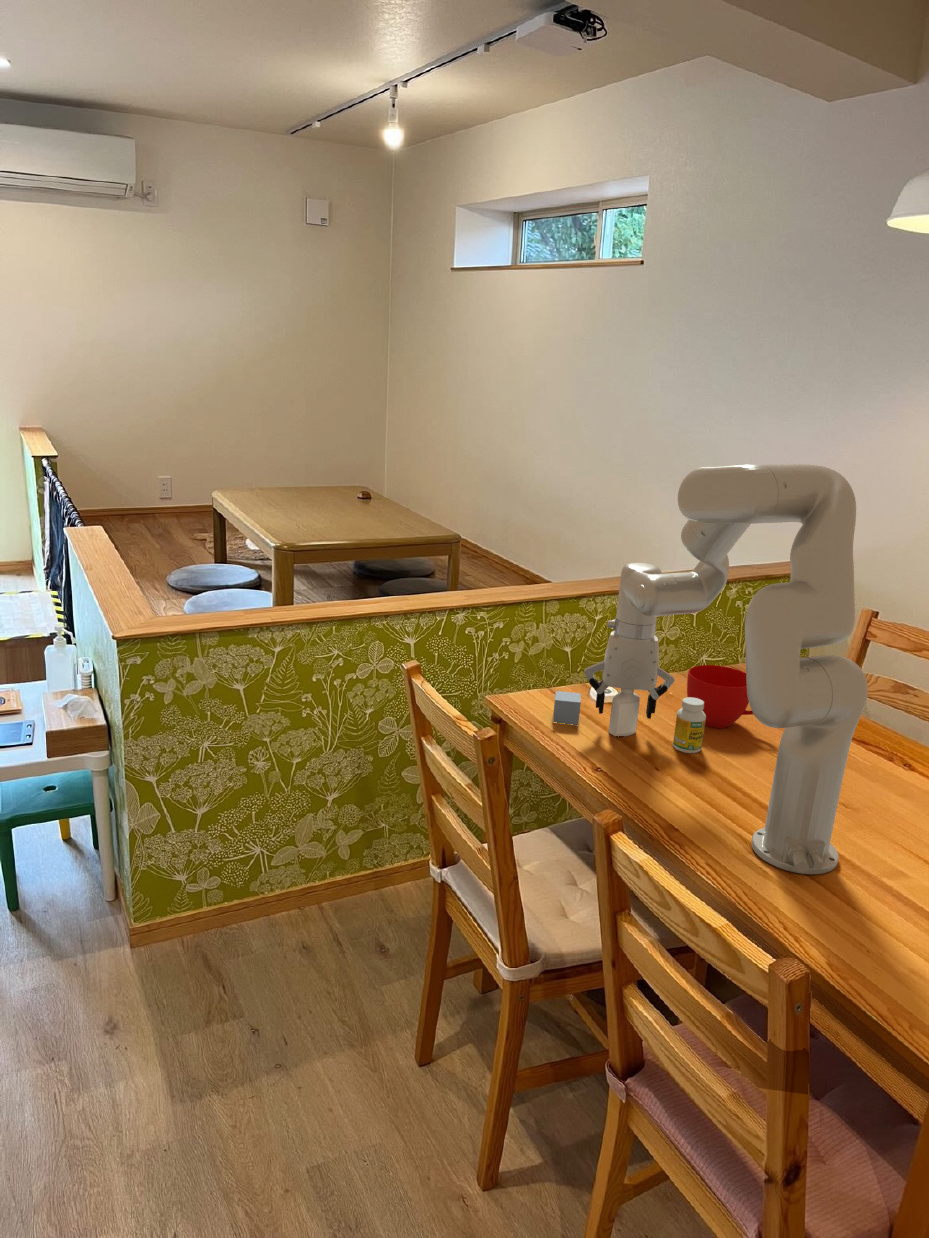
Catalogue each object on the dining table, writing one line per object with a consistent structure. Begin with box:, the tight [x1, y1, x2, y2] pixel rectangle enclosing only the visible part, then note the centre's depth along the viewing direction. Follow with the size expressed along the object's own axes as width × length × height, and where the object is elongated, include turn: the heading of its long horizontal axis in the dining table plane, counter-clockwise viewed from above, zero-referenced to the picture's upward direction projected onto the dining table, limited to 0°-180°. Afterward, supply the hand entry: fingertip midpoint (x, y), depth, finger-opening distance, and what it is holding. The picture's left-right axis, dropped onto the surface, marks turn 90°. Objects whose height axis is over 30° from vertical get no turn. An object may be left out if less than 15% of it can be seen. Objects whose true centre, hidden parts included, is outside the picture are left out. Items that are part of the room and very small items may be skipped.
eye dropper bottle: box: [608, 688, 641, 738], centre depth 183 cm, size 4×6×12 cm
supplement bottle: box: [672, 696, 706, 754], centre depth 179 cm, size 5×5×10 cm
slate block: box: [552, 690, 582, 726], centre depth 189 cm, size 5×5×5 cm
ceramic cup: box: [686, 664, 754, 729], centre depth 191 cm, size 13×17×10 cm
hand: (624, 713), depth 184 cm, fingers open, 8 cm apart
